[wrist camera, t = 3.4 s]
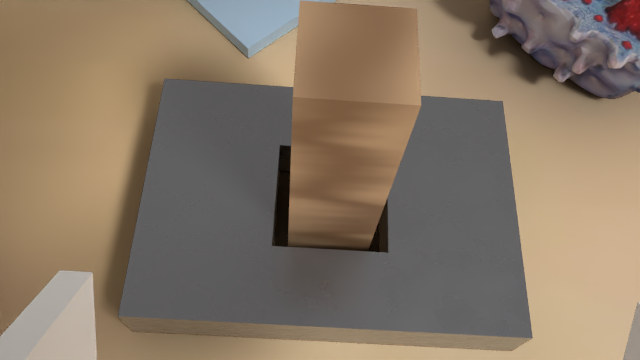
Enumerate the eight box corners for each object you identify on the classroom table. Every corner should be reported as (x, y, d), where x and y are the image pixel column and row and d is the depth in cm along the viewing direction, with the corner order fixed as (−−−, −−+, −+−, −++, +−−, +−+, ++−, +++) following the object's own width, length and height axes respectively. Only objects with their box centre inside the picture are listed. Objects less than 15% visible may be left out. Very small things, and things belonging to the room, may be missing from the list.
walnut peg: (365, 187, 36) (416, 8, 23) (365, 257, 34) (421, 105, 20) (292, 183, 36) (299, 0, 22) (287, 252, 34) (292, 96, 20)
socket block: (487, 128, 38) (502, 101, 36) (511, 351, 32) (532, 338, 29) (172, 107, 38) (164, 78, 35) (131, 331, 31) (117, 316, 28)
